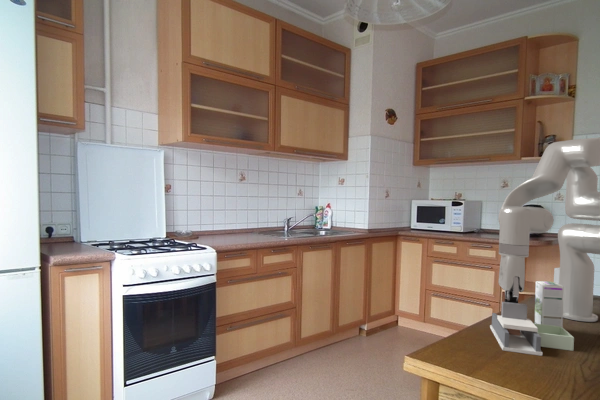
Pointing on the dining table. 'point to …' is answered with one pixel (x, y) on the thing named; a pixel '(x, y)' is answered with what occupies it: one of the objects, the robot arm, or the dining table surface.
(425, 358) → the dining table surface
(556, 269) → the skincare box
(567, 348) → the socket
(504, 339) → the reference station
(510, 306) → the cover
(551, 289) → the syrup box
